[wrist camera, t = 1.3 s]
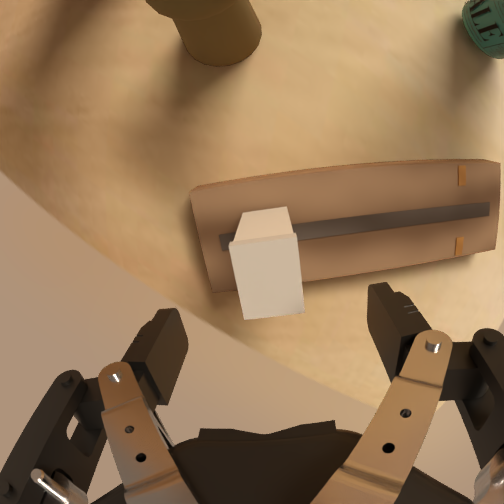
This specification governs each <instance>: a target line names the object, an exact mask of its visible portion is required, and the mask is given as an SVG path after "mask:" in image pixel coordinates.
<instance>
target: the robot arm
mask: <svg viewBox="0 0 504 504" xmlns="http://www.w3.org/2000/svg"><path fill="white" fill-rule="evenodd" d="M367 323H368V328H369V332H370V334H371V336H372V338H373V341H374V343H375V345H376V348H377V350H378V352H379V355H380V357H381V360H382V362H383V364H384V367H385V369H386V372H387V374H388V377H389V379H390V382H391V385H390V387H389V389H388V391H387V393H386V395H385V397H384V399H383V401H382V402H381V404H380V406H379V408H378V410H377V412H376V413H375V415H374V417H373V419H372V420H371V422H370V424H369V426H368V427H367V429H366V431H365V432H364V434H363V435H362V434H359V433H357V432H353V431H348V430H342V429H336V426H335V420H332V421H326V422H319V423H312V424H303V425H299V426H295V427H292V428H288V429H285V430H281V431H278V432H274V433H271V434H257V433H251V432H245V431H240V430H235V429H203V428H201V429H200V432H199V436H198V438H194V439H189V440H186V441H184V442H181V443H179V444H177V445H174V444H173V442H172V440H171V438H170V437H169V435H168V433H167V431H166V429H165V427H164V425H163V424H162V422H161V420H160V418H159V416H158V414H157V412H156V411H155V408H156V405H168V403H169V400H170V398H171V395H172V392H173V389H174V386H175V384H176V381H177V378H178V375H179V373H180V370H181V367H182V365H183V362H184V359H185V355H186V354H187V351H188V338H187V335H186V332H185V329H184V326H183V323H182V320H181V317H180V314H179V312H178V310H177V309H176V308H170V309H169V308H168V309H159V310H158V311H157V313H156V314H155V316H154V318H153V319H152V321H149V322H147V323H146V324H145V325H144V326H143V327H142V328H141V329H140V331H139V332H138V334H137V337H135V339H134V340H133V343H131V345H130V347H129V348H128V350H127V352H126V353H125V355H124V357H123V358H122V360H121V361H120V362H114V363H112V364H109V365H108V366H106V367H104V368H103V369H102V370H101V372H100V373H99V376H98V377H97V378H91V379H85V380H84V378H83V377H82V375H81V374H80V372H79V371H76V370H69V371H66V372H64V373H62V374H60V375H59V376H58V377H57V378H56V379H55V381H54V382H53V384H52V385H51V387H50V388H49V390H48V391H47V393H46V394H45V396H44V398H43V399H42V401H41V402H40V404H39V406H38V407H37V409H36V410H35V412H34V413H33V415H32V417H31V418H30V420H29V422H28V423H27V425H26V427H25V429H24V430H23V432H22V434H21V435H20V437H19V439H18V441H17V443H16V444H15V446H14V448H13V450H12V452H11V453H10V455H9V457H8V459H7V461H6V463H5V465H4V467H3V469H2V471H1V473H0V504H88V498H87V491H88V489H89V486H90V483H91V480H92V477H93V475H94V472H95V469H96V466H97V464H98V461H99V458H100V456H101V453H102V451H103V448H104V445H105V443H106V440H107V438H108V441H109V444H110V448H111V451H112V454H113V457H114V460H115V463H116V465H117V469H118V471H119V474H120V477H121V479H122V482H123V483H122V484H120V485H119V486H117V487H116V488H114V489H113V490H111V491H110V492H108V493H107V494H105V495H103V496H102V497H100V498H99V499H97V500H96V501H94V502H92V503H91V504H504V336H503V334H501V333H500V332H499V331H497V330H494V329H490V328H484V329H480V330H478V331H477V332H476V333H475V334H474V336H473V339H472V342H452V340H451V338H450V337H449V336H448V335H447V334H445V333H444V332H441V331H438V330H432V328H431V327H430V326H429V324H428V323H427V321H426V320H425V319H424V317H423V316H422V314H421V313H420V312H418V309H417V308H416V306H414V303H413V302H412V301H411V299H410V298H409V297H408V296H406V295H404V294H403V293H401V292H395V293H394V291H393V290H392V289H391V287H390V286H389V284H388V283H387V282H383V283H377V284H371V285H369V286H368V305H367ZM447 400H455V403H456V405H457V407H458V409H459V412H460V414H461V416H462V419H463V422H464V424H465V427H466V429H467V431H468V434H469V437H470V439H471V442H472V445H473V448H474V450H475V453H476V456H477V459H478V462H479V465H480V468H481V471H480V472H479V474H478V475H477V477H476V479H475V484H474V489H475V497H474V500H473V502H472V501H471V500H470V499H468V498H467V497H465V496H464V495H462V494H460V493H458V492H456V491H454V490H453V489H451V488H449V487H448V486H446V485H444V484H442V483H441V482H439V481H437V480H435V479H434V478H432V477H430V476H429V475H427V474H425V473H424V472H422V471H420V470H419V469H417V468H415V467H414V466H413V464H414V462H415V459H416V458H417V455H418V453H419V451H420V449H421V446H422V444H423V442H424V439H425V437H426V434H427V432H428V429H429V426H430V424H431V421H432V418H433V416H434V413H435V410H436V407H437V404H438V401H447ZM73 415H74V417H75V418H76V419H77V420H78V422H79V423H78V425H77V427H76V429H75V431H74V433H73V435H72V437H71V439H70V440H69V439H68V437H67V433H66V430H67V427H68V425H69V423H70V420H71V419H72V417H73Z"/></svg>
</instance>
